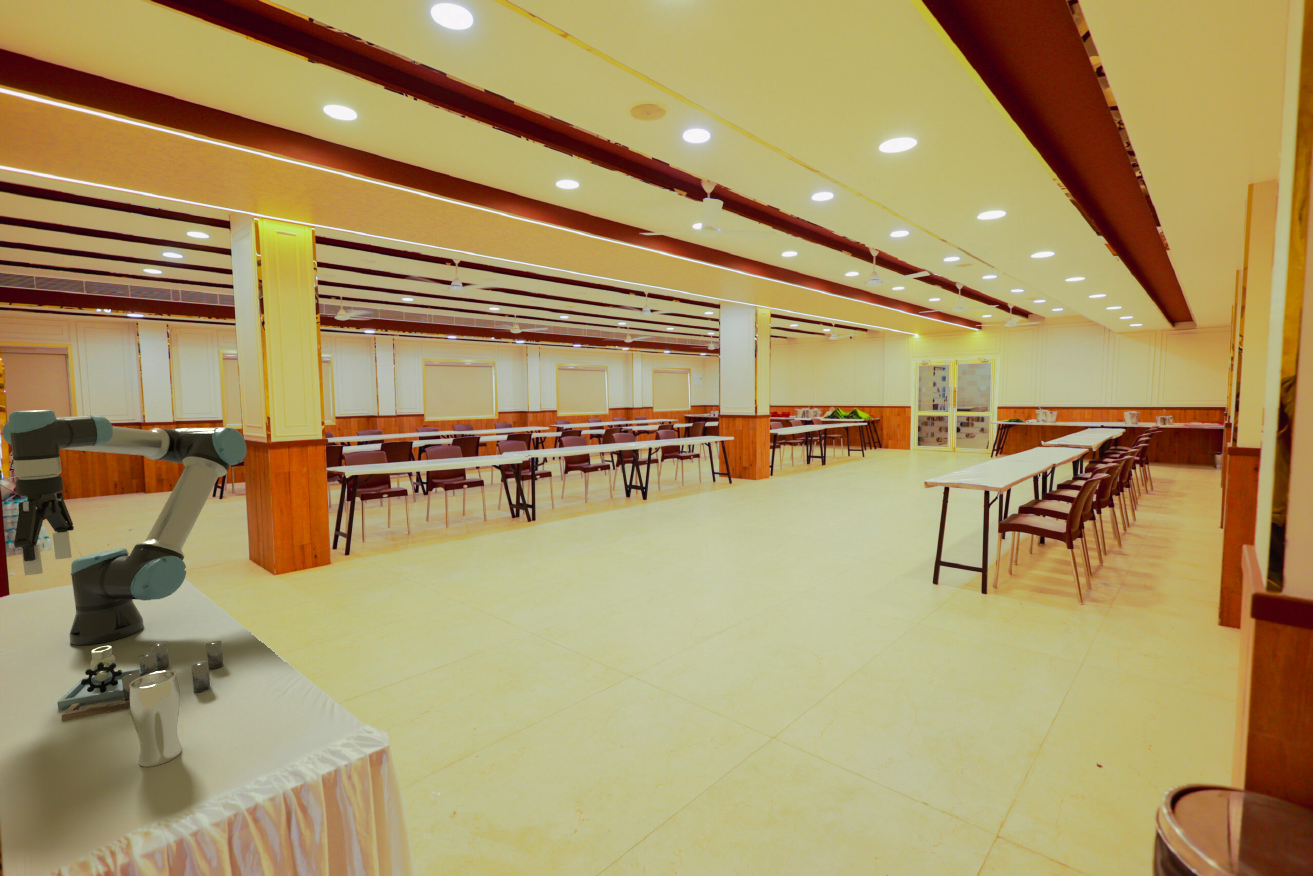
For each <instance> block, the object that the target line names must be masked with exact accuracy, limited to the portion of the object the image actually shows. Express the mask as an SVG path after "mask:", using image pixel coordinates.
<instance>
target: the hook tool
mask: <svg viewBox="0 0 1313 876" xmlns="http://www.w3.org/2000/svg"><path fill="white" fill-rule="evenodd" d="M125 709H130V701H129V700H127V701H124V700H123V701H118V702H113V703H107V704H106V703H105V704H102V705H101V704H100V705H95V706H90V707H85V708H81V706H80V703H76V704H72V705H71V706H70V707H69V708H66V710H65V711H63V713H62V714H61V721H66V720H67V721H68V720H72V719H78V718H83V717H88V716H93V715H97V714H98V715H99V714H103V713H109V712H115V711H120V710H125Z"/></svg>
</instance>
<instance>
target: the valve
mask: <svg viewBox="0 0 1313 876" xmlns="http://www.w3.org/2000/svg"><path fill="white" fill-rule="evenodd" d="M116 668H117V663H116V657H115V655H114V654H113V649H112V646H111V645H104V646H99V647H96V648H94V649H92V650H91V661H90V668H87V669H86V670H84V674H85V675H86V676H87V677H88V678H87V679H85V678H84V677H83V678H84V679H82V678H81V679H82V680H81V679H80V680H81V684H82V685H86V684H89V685H90V687H88V688H87V691H88V692H92V691H93V690H94V689H95V688H100V692H101V693H103V692H105V691H106V690H107V688H106V687H107V686H108V685H112V686H116V685H117V684H118V680H115V677H116V676H121V675H122V671H123V670H121V669H118V670H117V671H116V670H115V669H116ZM92 676H94V679H95V680H97V681H101V685H97V684H94V683H93V682H92V680H91V678H92ZM111 676H112V678H111V679H110V681H108V682H107V683H105V681H104V680H105V679H107V678H109V677H111Z"/></svg>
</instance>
